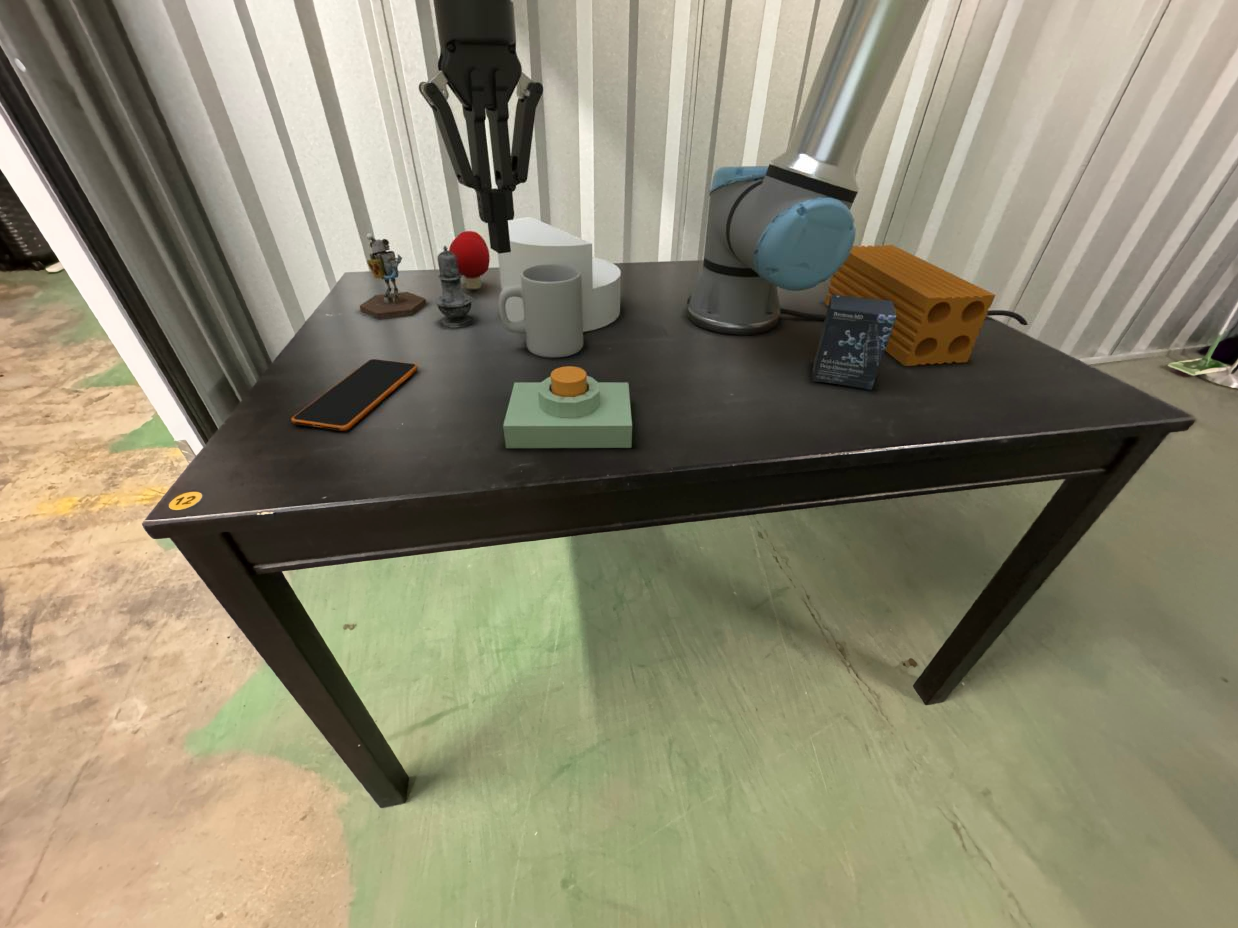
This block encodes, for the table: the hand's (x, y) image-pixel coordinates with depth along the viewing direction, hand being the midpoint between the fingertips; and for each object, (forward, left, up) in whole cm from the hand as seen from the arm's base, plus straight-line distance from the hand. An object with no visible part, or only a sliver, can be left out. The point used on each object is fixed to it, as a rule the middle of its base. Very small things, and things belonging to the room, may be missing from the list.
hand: (500, 250), depth 66 cm
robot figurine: (+24, -25, -17) cm, 38 cm away
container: (-5, -24, -17) cm, 29 cm away
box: (-45, +1, -17) cm, 48 cm away
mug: (-3, -9, -17) cm, 19 cm away
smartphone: (+19, +6, -16) cm, 26 cm away
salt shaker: (+12, -19, -17) cm, 27 cm away
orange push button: (-8, +13, -12) cm, 20 cm away
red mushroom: (+12, -34, -17) cm, 39 cm away
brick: (-59, -16, -17) cm, 64 cm away
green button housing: (-8, +13, -16) cm, 23 cm away
